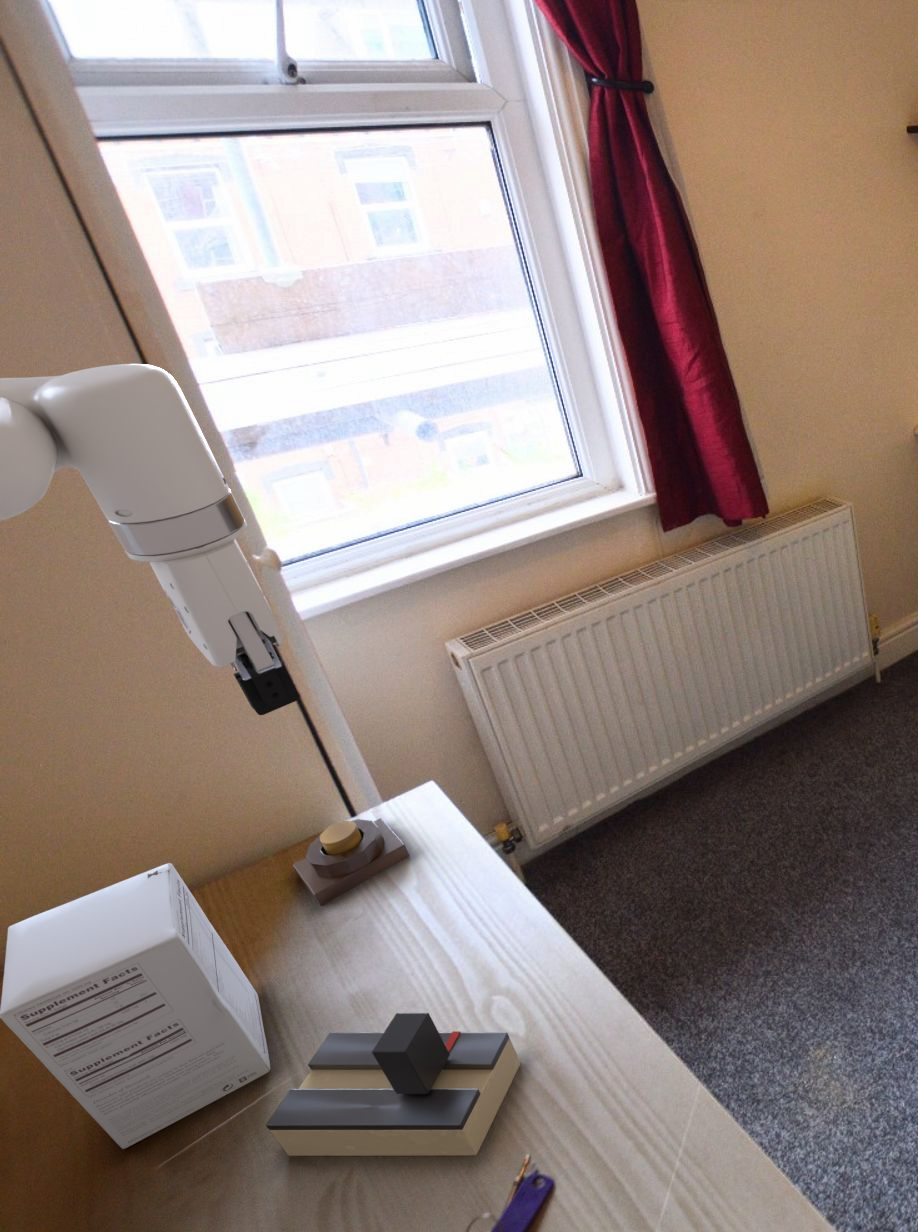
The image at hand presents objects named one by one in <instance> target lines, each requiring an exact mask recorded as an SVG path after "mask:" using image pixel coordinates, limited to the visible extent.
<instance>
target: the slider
mask: <svg viewBox="0 0 918 1232" xmlns="http://www.w3.org/2000/svg"><path fill="white" fill-rule="evenodd" d="M372 1054H373V1055H374V1057H375V1059H376V1060H377V1062H378V1064H379V1065H380V1067H381V1069H382V1070H383V1072H384V1074H385V1076H386V1077H387V1079H388V1081H389V1082H390V1084H391V1086H392V1087H393V1089H394V1091H395V1092H396V1094H428V1093H429V1092H430V1090H431V1088H432V1086H433V1084H434V1083H435V1081H436V1079H437V1077H438V1076H439V1074H440V1072H441V1070H442V1068H443V1067H444V1065H445V1063H446V1061H447V1059H448V1058H449V1056H450V1054H449V1052H448V1050H447V1048H446V1046H445V1044H444V1042H443V1040H442V1038H441V1036H440V1034H439V1030H438V1028H437V1027H436V1025H435V1022H434V1021H433V1019H432V1017H431V1015H430V1013H429V1012H396V1013H395V1014H394V1016H393V1018H392V1019H391V1020H390V1022H389V1024H388V1026H387V1027H386V1029H385V1030H384V1033H383V1035H382V1037H381V1038H380V1040H379V1041H378V1043H377V1044H376V1046H375V1047H374V1049H373V1051H372Z"/></svg>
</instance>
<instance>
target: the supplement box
mask: <svg viewBox="0 0 918 1232" xmlns="http://www.w3.org/2000/svg"><path fill="white" fill-rule="evenodd" d="M2 978H3V979H2V989H1V990H2V991H1V999H0V1019H1V1020H2V1021H3V1023H4V1024H5V1025H6V1026H7V1028H9V1029H10V1030H11V1031H12V1032H13V1034H15V1035H16V1036H17V1037H18V1038H19V1040H20V1041H21V1042H22V1043H23V1044H24V1045H25V1046H26V1047H27V1049H29V1051H31V1052H32V1053H33V1054H34V1056H35V1057H36V1058H37V1059H38V1060H39V1061H40V1062H41V1063H42V1064H43V1065H44V1066H45V1068H46V1069H47V1070H48V1071H49V1072H50V1073H51V1074H52V1076H54V1077H55V1079H56V1080H57V1081H58V1082H59V1083H60V1084H61V1085H62V1086H63V1087H64V1088H65V1089H66V1091H68V1093H70V1095H71V1096H72V1097H73V1098H74V1099H75V1100H76V1101H77V1102H78V1103H79V1104H80V1105H81V1106H82V1108H83V1109H84V1110H85V1111H86V1112H87V1113H88V1114H89V1115H90V1116H91V1117H92V1119H94V1121H96V1123H97V1124H98V1125H99V1126H100V1127H101V1128H102V1129H103V1130H104V1131H105V1132H106V1133H107V1135H108V1136H109V1137H110V1138H111V1140H113V1141H114V1142H115V1143H116V1144H117V1145H118V1146H119V1147H120V1148H121V1149H122V1150H125V1149H127V1148H129V1147H131V1146H133V1145H135V1144H137V1143H138V1142H141V1141H143V1140H145V1139H146V1138H148V1137H150V1136H152V1135H153V1134H156V1133H158V1132H159V1131H161V1130H163V1129H165V1128H167V1127H168V1126H171V1125H172V1124H174V1123H176V1122H178V1121H180V1120H182V1119H184V1118H186V1117H187V1116H189V1115H191V1114H193V1113H195V1112H197V1111H198V1110H201V1109H203V1108H204V1107H206V1106H208V1105H210V1104H212V1103H214V1102H215V1101H217V1100H219V1099H221V1098H224V1097H225V1096H226V1095H229V1094H232V1093H233V1092H234V1091H236V1090H238V1089H240V1088H242V1087H244V1086H246V1085H248V1084H249V1083H251V1082H253V1081H255V1080H257V1079H259V1078H261V1077H263V1076H264V1075H267V1074H268V1073H269V1072H270V1071H271V1063H270V1062H271V1061H270V1056H269V1055H270V1054H269V1049H268V1044H267V1043H268V1042H267V1038H266V1034H265V1028H264V1022H263V1017H262V1011H261V1005H260V1000H259V995H258V992H257V991H256V989H255V988H254V987H253V985H252V983H251V982H250V980H249V979H248V977H247V976H246V974H245V972H244V971H243V970H242V968H241V966H240V965H239V964H238V962H237V960H236V959H235V958H234V956H233V954H232V953H231V951H230V950H229V948H228V947H227V946H226V944H225V942H224V941H223V939H222V938H221V937H220V934H218V932H217V931H216V929H215V927H214V926H213V925H212V923H211V922H210V921H209V919H208V917H207V915H206V914H205V912H204V910H203V909H202V907H201V905H200V904H199V903H198V901H197V900H196V897H194V895H193V894H192V892H191V891H190V889H189V887H188V886H187V885H186V883H185V882H184V880H183V878H182V877H181V876H180V874H179V873H178V871H177V869H176V868H175V867H174V865H173V863H171V862H170V863H169V862H168V863H165V864H161V865H159V866H157V867H155V868H152V869H149V870H147V871H145V872H142V873H139V874H137V875H134V876H131V877H129V878H127V879H124V880H122V881H119V882H117V883H114V884H111V885H109V886H106V887H104V888H101V889H99V890H96V891H94V892H91V893H89V894H86V895H84V896H81V897H78V898H76V899H74V900H70V901H68V902H66V903H64V904H61V905H58V906H56V907H53V908H50V909H49V910H45V911H43V912H41V913H38V914H35V915H33V916H30V917H28V918H25V919H23V920H21V921H19V922H16V923H13V924H11V925H9V926H8V928H7V936H6V946H5V959H4V968H3V977H2Z"/></svg>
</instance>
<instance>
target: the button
mask: <svg viewBox="0 0 918 1232" xmlns="http://www.w3.org/2000/svg"><path fill="white" fill-rule="evenodd" d="M352 821H353V820H343V821H339V822H335V823H333V824H331V825H330V826H328V827H327V828H325V829H324V830H323V831H322V832H321V833H320V835H319V836H320V842H321V843H322V845H323V847H324V849H325V851H326V853H327V854H328V855H331V856H334V855H338V854H342V853H345V852H347V851H349V850H351V849H353V848H355V847H356V846H357V845H358V844H359V843H360V842H361V840H362V836H361V834H360V832H359V830H358V828H357V826H356V824H355V823H354V822H352Z"/></svg>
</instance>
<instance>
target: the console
mask: <svg viewBox="0 0 918 1232" xmlns="http://www.w3.org/2000/svg"><path fill="white" fill-rule="evenodd" d="M384 1032H385V1031H384ZM384 1032H381V1031H380V1032H379V1031H378V1032H375V1031H374V1032H373V1031H372V1032H371V1031H368V1032H367V1031H365V1032H359V1031H358V1032H354V1031H353V1032H352V1031H351V1032H347V1031H346V1032H341V1031H340V1032H333V1031H332V1032H329V1033H328V1035H327V1036H326V1038H325V1039H324V1041H323V1042H322V1043H321V1045H320V1047H319V1048H318V1049H317V1050H316V1051H315V1053H314V1055H313V1056H312V1058H311V1059H310V1061H309V1062H308V1063H307V1066H308V1068H309V1069H310V1072H308V1074H307V1076H306V1077H305V1079H303V1082H302V1083H301V1085H300V1086H299V1087H298V1088H290V1090H289V1091H288V1092H287V1094H286V1095H285V1096H284V1098H283V1099H282V1100H281V1102H280V1104H279V1105H278V1107H276V1110H275V1111H274V1112H273V1114H272V1115H271V1116H270V1118H269V1119H268V1121H267V1122H266V1123H265V1127H266V1128H267V1129H268V1131H269V1132H270V1134H272V1136H273V1137H274V1139H275V1140H276V1141H277V1143H279V1145H280V1146H281V1148H282V1149H283V1151H284V1152H285V1153H286V1155H287V1156H288V1157H304V1156H305V1157H306V1156H307V1157H318V1156H319V1157H324V1156H325V1157H326V1156H328V1157H329V1156H331V1157H333V1156H336V1157H339V1156H340V1157H343V1156H351V1157H352V1156H353V1157H354V1156H355V1157H357V1156H359V1157H361V1156H363V1157H364V1156H365V1157H366V1156H369V1157H370V1156H371V1157H372V1156H375V1157H376V1156H378V1157H379V1156H382V1157H385V1156H390V1157H392V1156H393V1157H395V1156H397V1157H398V1156H400V1157H401V1156H407V1157H408V1156H410V1157H411V1156H413V1157H414V1156H418V1157H419V1156H420V1157H421V1156H434V1157H435V1156H477V1155H478V1153H479V1151H480V1148H481V1147H482V1145H483V1142H484V1140H485V1138H486V1137H487V1134H488V1132H489V1130H490V1128H491V1126H492V1124H493V1122H494V1120H495V1117H496V1116H497V1114H498V1111H499V1109H500V1108H501V1105H502V1103H503V1102H504V1099H505V1097H506V1095H507V1093H508V1091H509V1089H510V1086H511V1085H512V1083H513V1080H514V1079H515V1076H516V1074H517V1073H518V1071H519V1068H520V1066H521V1061H520V1058H519V1056H518V1054H517V1052H516V1049H515V1047H514V1045H513V1043H512V1040H511V1039H510V1035H509V1033H508V1032H507V1031H506V1032H505V1031H504V1032H500V1031H499V1032H493V1031H492V1032H488V1031H487V1032H484V1031H482V1032H481V1031H480V1032H478V1031H477V1032H475V1031H474V1032H473V1031H472V1032H471V1031H467V1032H466V1031H465V1032H461V1031H458V1030H456V1031H452V1032H451V1031H450V1032H448V1031H447V1032H445V1031H444V1032H443V1031H442V1032H441V1031H440V1032H439V1031H438V1032H439V1034H440V1036H441V1038H442V1040H443V1042H444V1044H445V1046H446V1048H447V1050H448V1052H449V1054H450V1056H449V1058H448V1059H447V1061H446V1063H445V1065H444V1067H443V1068H442V1070H441V1072H440V1074H439V1076H438V1077H437V1079H436V1081H435V1083H434V1084H433V1086H432V1088H431V1090H430V1092H429V1093H428V1094H396V1092H395V1091H394V1089H393V1087H392V1086H391V1084H390V1082H389V1081H388V1079H387V1077H386V1076H385V1074H384V1072H383V1070H382V1069H381V1067H380V1065H379V1064H378V1062H377V1060H376V1059H375V1057H374V1055H373V1054H372V1051H373V1049H374V1047H375V1046H376V1044H377V1043H378V1041H379V1040H380V1038H381V1037H382V1035H383V1033H384Z"/></svg>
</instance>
